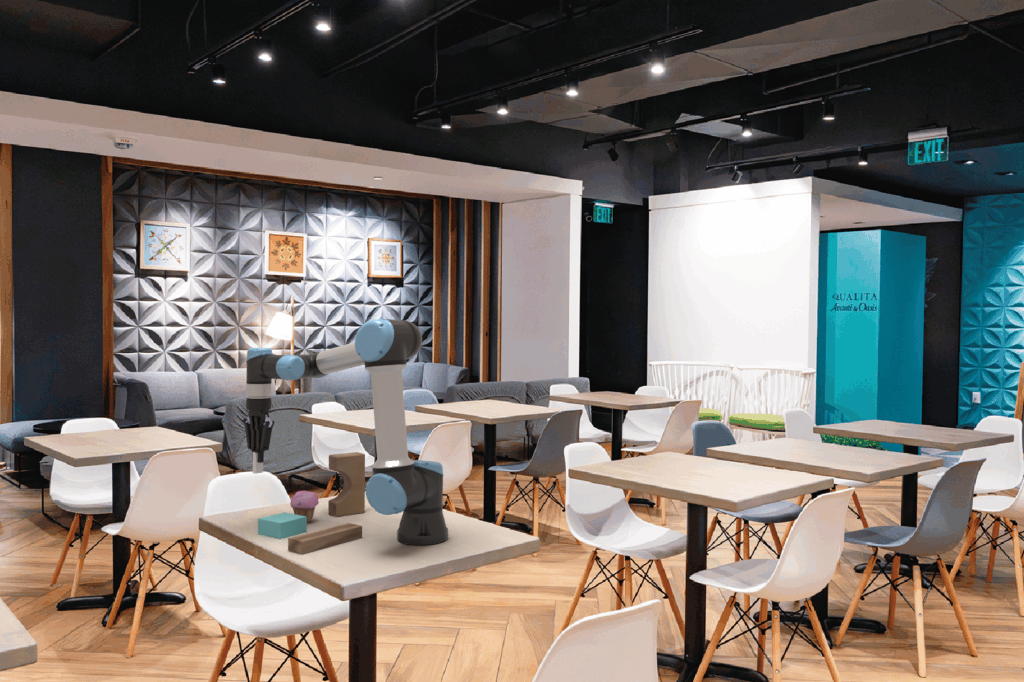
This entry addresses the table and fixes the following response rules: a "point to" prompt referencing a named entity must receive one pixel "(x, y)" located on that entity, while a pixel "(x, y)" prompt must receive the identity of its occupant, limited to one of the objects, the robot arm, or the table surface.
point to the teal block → (282, 525)
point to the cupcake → (304, 504)
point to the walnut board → (324, 538)
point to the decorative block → (348, 484)
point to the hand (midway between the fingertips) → (257, 472)
